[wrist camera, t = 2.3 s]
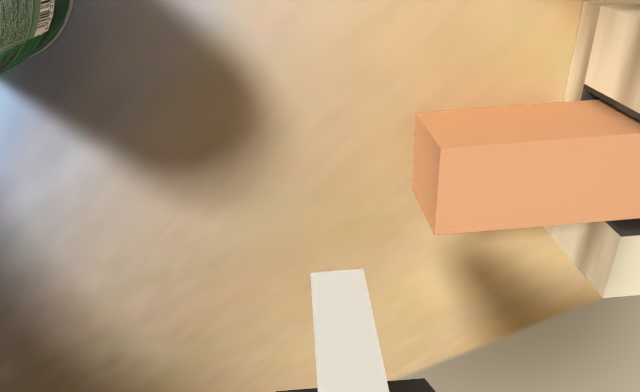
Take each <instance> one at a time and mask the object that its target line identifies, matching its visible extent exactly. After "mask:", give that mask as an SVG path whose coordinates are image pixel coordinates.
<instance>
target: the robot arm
mask: <svg viewBox="0 0 640 392" xmlns="http://www.w3.org/2000/svg"><path fill="white" fill-rule="evenodd" d="M311 287H312V303H313V320H314V337H315V353H316V370H317V386H318V388H313V389H301V390H288V391H276V392H435V391H434V389H433V388H432V387H431V386H430V385H429V383H428V382H427V381H426V380H425V379H424V378H423V379H410V380H398V381H387V378H386V374H385V369H384V364H383V360H382V355H381V350H380V346H379V341H378V336H377V331H376V327H375V322H374V317H373V313H372V308H371V303H370V298H369V294H368V289H367V284H366V280H365V275H364V270H363V269H354V270H341V271H328V272H314V273H311Z"/></svg>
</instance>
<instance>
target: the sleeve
mask: <svg viewBox="0 0 640 392" xmlns="http://www.w3.org/2000/svg"><path fill="white" fill-rule="evenodd" d="M598 99H602V100H604V101H606V102H607V103H609V104H611V105H613V106H615V107H616V108H618V109H620V110H622V111H624V112H625V113H627V114H629V115H631V116H633V117H634V118H636V119H638V120H640V0H597V1H583V6H582V11H581V17H580V22H579V27H578V32H577V37H576V42H575V47H574V52H573V57H572V62H571V67H570V72H569V77H568V82H567V87H566V93H565V98H564V102H571V101H585V100H598ZM542 227H543V228H544V229H545V231H546V232H547V233H548V234H549V235H550V236H551V238H552V239H553V240H554V241H555V242H556V244H557V245H558V246H559V247H560V248H561V249H562V251H563V252H564V253H565V254H566V255H567V256H568V258H569V259H570V260H571V261H572V262H573V263H574V265H575V266H576V267H577V268H578V269H579V271H580V272H581V273H582V274H583V275H584V276H585V278H586V279H587V280H588V281H589V282H590V283H591V285H592V286H593V287H594V288H595V289H596V290H597V292H598V293H599V294H600V295H601V296H602V298H609V297H620V296H632V295H640V218H637V219H625V220H613V221H601V222H589V223H576V224H564V225H552V226H542Z"/></svg>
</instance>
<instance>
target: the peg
mask: <svg viewBox="0 0 640 392" xmlns="http://www.w3.org/2000/svg"><path fill="white" fill-rule="evenodd" d="M413 192H414V194H415V196H416V198H417V200H418V202H419V205H420V207H421V209H422V211H423V213H424V215H425V217H426V219H427V221H428V223H429V225H430V227H431V229H432V231H433V233H434V235H443V234H455V233H467V232H479V231H491V230H504V229H516V228H528V227H540V226H552V225H564V224H576V223H589V222H601V221H613V220H625V219H637V218H640V120H638V119H636V118H634V117H633V116H631V115H629V114H627V113H625V112H624V111H622V110H620V109H618V108H616V107H615V106H613V105H611V104H609V103H607V102H606V101H604V100H602V99H598V100H585V101H571V102H557V103H544V104H530V105H517V106H503V107H489V108H476V109H462V110H449V111H435V112H421V113H416V125H415V147H414V168H413Z"/></svg>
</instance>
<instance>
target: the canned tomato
mask: <svg viewBox="0 0 640 392" xmlns="http://www.w3.org/2000/svg"><path fill="white" fill-rule="evenodd" d="M73 2H74V0H0V73H2V72H4V71H6V70H7V69H9V68H11V67H13V66H15V65H17V64H18V63H20V62H22V61H24V60H26V59H27V58H30V57H33V56H35V55H36V54H38V53H40V52H42V51H44V50H45V49H47V48H48V47H49V46H50V45H51V44H52V43H53V42H54V41H55V40H56V39H57V38H58V37H59V36H60V34H61V33H62V31H63V29H64V28H65V26H66V25H67V23H68V20H69V17H70V14H71V11H72V8H73Z"/></svg>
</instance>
